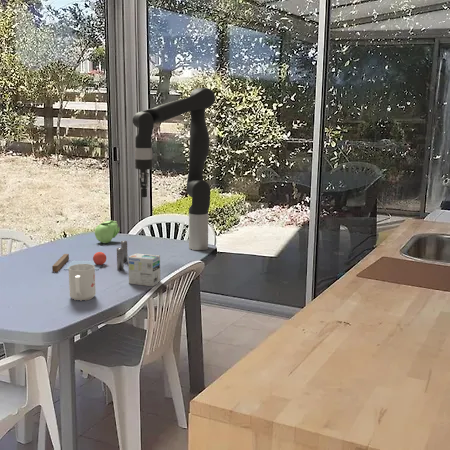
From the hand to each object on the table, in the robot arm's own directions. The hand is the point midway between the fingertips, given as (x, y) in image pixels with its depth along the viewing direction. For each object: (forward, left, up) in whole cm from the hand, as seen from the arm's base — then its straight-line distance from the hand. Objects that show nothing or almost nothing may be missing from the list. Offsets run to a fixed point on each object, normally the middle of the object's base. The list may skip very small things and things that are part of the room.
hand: (144, 197), depth 255 cm
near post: (+8, +23, -27) cm, 37 cm away
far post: (+8, +11, -27) cm, 30 cm away
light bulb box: (-4, +42, -27) cm, 50 cm away
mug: (+16, +61, -27) cm, 69 cm away
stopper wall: (+34, +17, -27) cm, 47 cm away
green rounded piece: (+21, -26, -27) cm, 43 cm away
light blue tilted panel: (+24, +17, -27) cm, 40 cm away
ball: (+18, +16, -24) cm, 34 cm away
